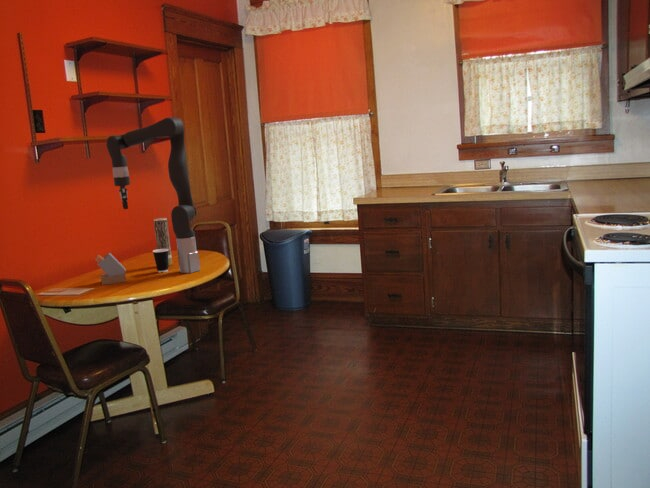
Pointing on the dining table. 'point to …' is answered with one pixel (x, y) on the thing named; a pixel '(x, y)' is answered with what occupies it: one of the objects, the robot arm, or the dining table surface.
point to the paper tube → (162, 236)
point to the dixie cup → (161, 259)
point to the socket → (112, 270)
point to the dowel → (99, 258)
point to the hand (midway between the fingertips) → (125, 208)
